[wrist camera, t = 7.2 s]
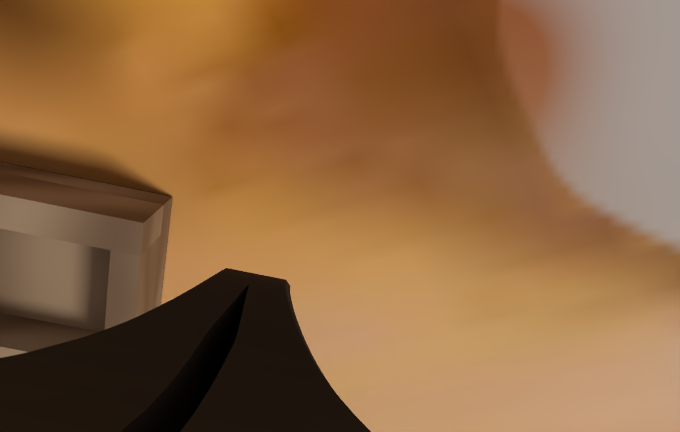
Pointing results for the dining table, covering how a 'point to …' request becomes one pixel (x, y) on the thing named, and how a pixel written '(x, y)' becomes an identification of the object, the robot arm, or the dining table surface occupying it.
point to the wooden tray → (75, 256)
